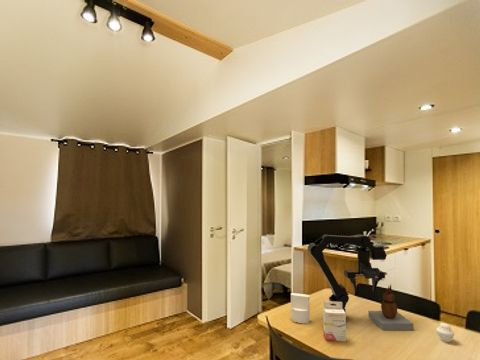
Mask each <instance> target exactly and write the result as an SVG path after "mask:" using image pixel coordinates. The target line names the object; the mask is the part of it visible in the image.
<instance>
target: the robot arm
mask: <svg viewBox="0 0 480 360" xmlns="http://www.w3.org/2000/svg"><path fill="white" fill-rule="evenodd" d="M329 244H343V245H354V246H355V247H353V248H352V250H353V251H354V252H357V259H356V264H357V268H356V271H354V270H353V269H345V270H344V271H343V276H344V277H346V278H347V279H349V281H350V283H351V285H352V287H353V291H354V292H357V283H356V282H357V278H356V277H364V278H365V279H366V280H369V279H371V287H372V292H376V290H377V289H376V288H377V287H378V284H379V282H380V281H382V280H383V279H386V274H385V272H384V271H382V270H380V268H379V267H372V263H371V261H370V258H371V260H372V261H385V260H386V259H387V253H386V250H385V249H384V248H385V247H384V246H382V245H378V246H375V245H374V244H373V243H372V241H371V238H370V237H369V236H367V235H364V234H353V235H336V234H335V235H331V234H323V235H321V237H320V238H318V239H316V241H314V242H312V243H311V244H309V245H308V246H307V252H308V254H309V255H310V257H312V258H313V259H314V260H315V262H316V263H317V265H318V266H319V268H320V270H321V272H322V273H323V276H324V278H326V281H327V282H328V284H329V286H330V291H331V293H332V294H331V295H330V296H329V297H328V300H329V301H332V302H342V309H343V310H344V312H345V313H346V310H347V309H346V305H347V304H348V302H349V300H350V297H349V295H350V294H349V293H348V292H347V289H346V288H345V286H344V285H343V284H341V283H338V281H337V279H336V277H335V276H334V274H333V272H332V270H331V269H330V267H329V265H328V263H327V262H326V259H325V256H324V250H325V249H326V248H327V247H328V245H329ZM366 248H367V249H366ZM330 305H333V306H336V304H330ZM346 314H347V313H346Z"/></svg>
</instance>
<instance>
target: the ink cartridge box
mask: <svg viewBox="0 0 480 360" xmlns="http://www.w3.org/2000/svg"><path fill="white" fill-rule="evenodd" d="M330 304H336V306H333V305H330ZM322 309H323V311H322V312H323V319H322V321H323V336H324V339H325V341H333V340H334V341H335V342H346V341H347V317H346V316H347V313H345V312H344V310H343V309H342V302H332V301H330V300H329V301H327V300H326V301H323V308H322Z"/></svg>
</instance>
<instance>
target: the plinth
mask: <svg viewBox="0 0 480 360" xmlns="http://www.w3.org/2000/svg"><path fill="white" fill-rule="evenodd" d="M367 315H368V318H369V319H370V320H371V321H372V322H373V323H374V324H375V325H376V326H377V327H379V328H380V329H381V331H414V322H412V321H410V320H409V319H408V318H406V316H404V315H402V314H401V313H400V312H398V311H397V314H396V317H395V318H387V317H385V316H384V315H383V313H382V310H368V314H367Z"/></svg>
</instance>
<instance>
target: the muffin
mask: <svg viewBox="0 0 480 360" xmlns="http://www.w3.org/2000/svg"><path fill="white" fill-rule="evenodd" d="M436 333H437V336H438V337H439V338H440V340H441V341H442V342H445V343H451V342H452V340H453V339H454V336H455V332H454V331H453V330H452V328H451V326H450V325H449V324H447V323H446V322H445V323H444V322H442V323H440V324H439V326H438V327H436Z"/></svg>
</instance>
